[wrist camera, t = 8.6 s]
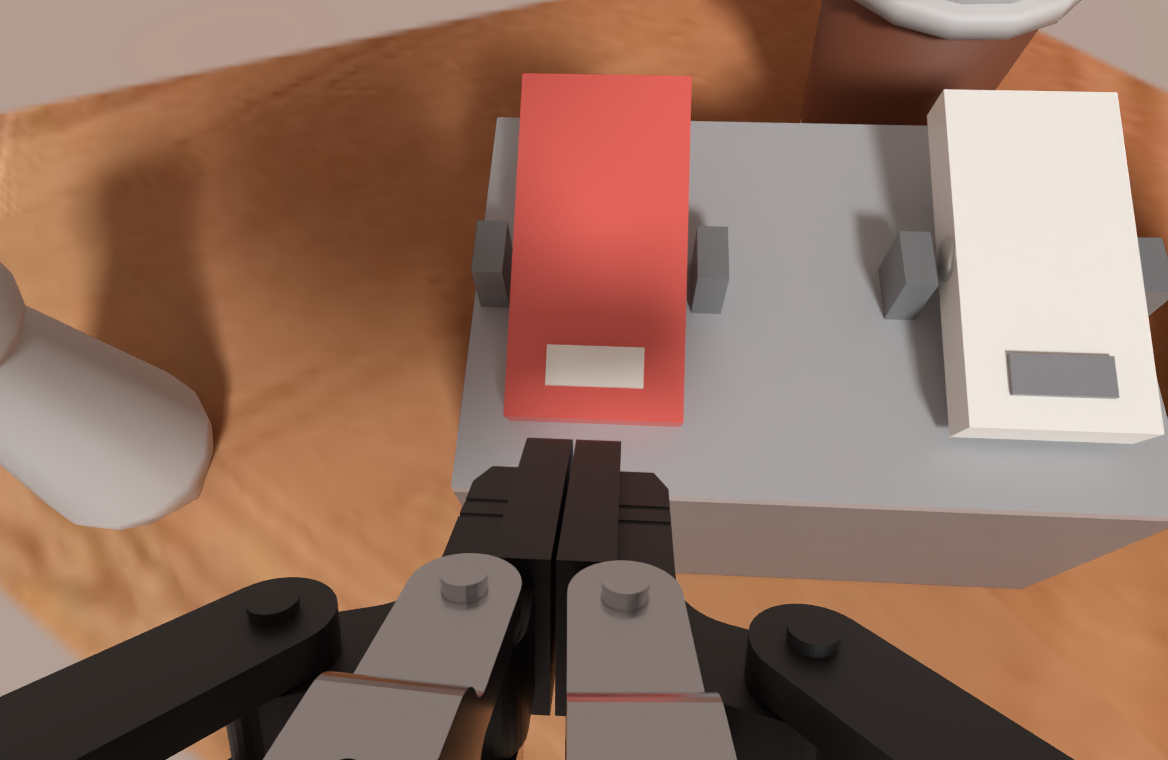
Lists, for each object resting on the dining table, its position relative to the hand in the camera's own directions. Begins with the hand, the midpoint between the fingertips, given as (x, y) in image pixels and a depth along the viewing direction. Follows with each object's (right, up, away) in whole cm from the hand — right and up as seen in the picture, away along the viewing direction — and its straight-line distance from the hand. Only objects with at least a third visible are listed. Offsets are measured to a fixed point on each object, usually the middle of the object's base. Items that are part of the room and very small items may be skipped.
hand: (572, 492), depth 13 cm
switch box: (+6, 0, +18) cm, 19 cm away
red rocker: (+1, +5, +8) cm, 10 cm away
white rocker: (+12, +5, +8) cm, 15 cm away
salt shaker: (-16, -2, +18) cm, 24 cm away
